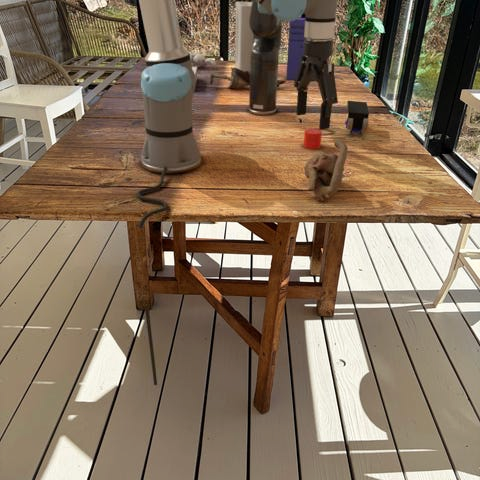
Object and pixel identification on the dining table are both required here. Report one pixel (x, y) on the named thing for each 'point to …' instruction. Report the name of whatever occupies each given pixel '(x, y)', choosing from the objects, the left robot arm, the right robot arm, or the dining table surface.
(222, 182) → the dining table surface
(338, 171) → the brown monkey figure
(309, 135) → the tin
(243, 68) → the tall white carton
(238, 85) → the figurine
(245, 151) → the dining table surface
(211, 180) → the dining table surface
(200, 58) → the toy
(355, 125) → the figurine character
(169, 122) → the left robot arm
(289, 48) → the cereal box
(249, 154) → the dining table surface
